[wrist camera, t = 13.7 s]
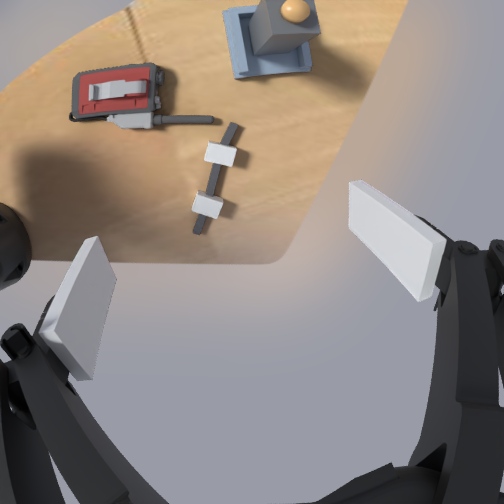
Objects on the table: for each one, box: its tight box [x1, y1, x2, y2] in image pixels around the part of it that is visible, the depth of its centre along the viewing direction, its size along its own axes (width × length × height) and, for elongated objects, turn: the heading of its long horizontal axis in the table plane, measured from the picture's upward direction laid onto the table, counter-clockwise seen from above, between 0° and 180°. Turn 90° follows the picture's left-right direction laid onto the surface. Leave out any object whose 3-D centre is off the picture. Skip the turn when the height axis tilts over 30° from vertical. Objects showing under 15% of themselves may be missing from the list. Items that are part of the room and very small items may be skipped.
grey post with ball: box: [248, 0, 321, 56], centre depth 24 cm, size 4×4×13 cm
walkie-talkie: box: [69, 63, 214, 129], centre depth 30 cm, size 9×4×20 cm
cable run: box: [192, 122, 238, 235], centre depth 37 cm, size 4×16×2 cm, turn 163°
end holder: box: [223, 5, 313, 79], centre depth 29 cm, size 10×10×3 cm
